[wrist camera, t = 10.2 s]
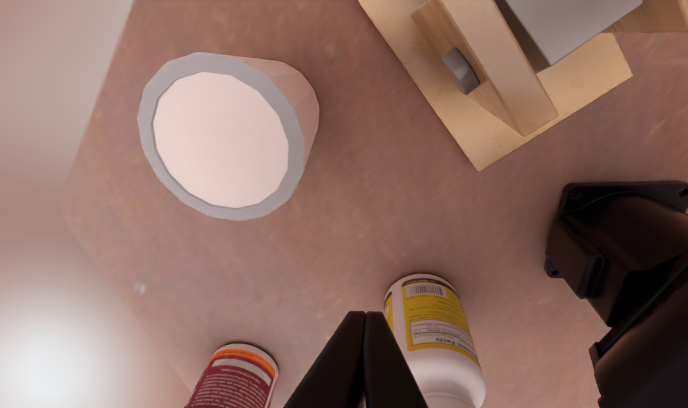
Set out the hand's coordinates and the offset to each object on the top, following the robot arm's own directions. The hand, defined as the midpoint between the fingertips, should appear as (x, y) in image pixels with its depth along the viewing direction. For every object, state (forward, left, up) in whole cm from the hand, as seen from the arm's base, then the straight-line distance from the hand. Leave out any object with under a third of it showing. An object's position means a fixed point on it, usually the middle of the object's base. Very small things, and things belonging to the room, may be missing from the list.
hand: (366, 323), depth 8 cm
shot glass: (+6, -3, -13) cm, 15 cm away
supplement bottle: (-3, +11, -13) cm, 18 cm away
